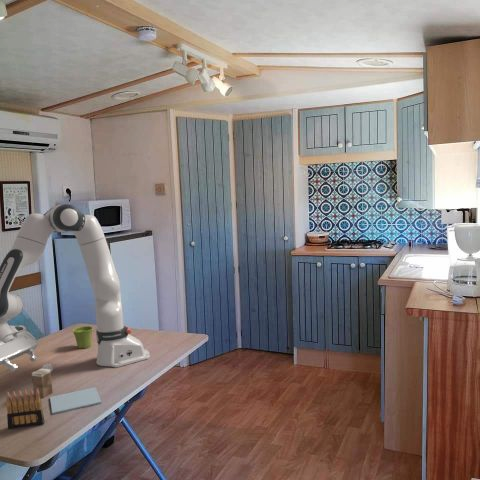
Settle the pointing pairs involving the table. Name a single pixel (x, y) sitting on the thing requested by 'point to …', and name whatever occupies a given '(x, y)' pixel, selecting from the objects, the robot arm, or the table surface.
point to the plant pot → (83, 336)
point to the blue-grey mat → (74, 400)
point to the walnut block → (42, 382)
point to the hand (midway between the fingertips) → (25, 364)
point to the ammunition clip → (21, 416)
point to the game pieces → (48, 367)
